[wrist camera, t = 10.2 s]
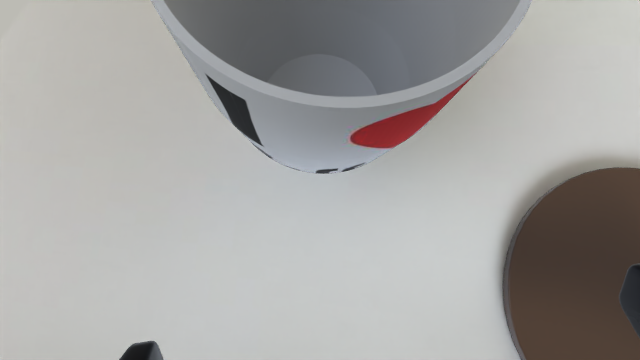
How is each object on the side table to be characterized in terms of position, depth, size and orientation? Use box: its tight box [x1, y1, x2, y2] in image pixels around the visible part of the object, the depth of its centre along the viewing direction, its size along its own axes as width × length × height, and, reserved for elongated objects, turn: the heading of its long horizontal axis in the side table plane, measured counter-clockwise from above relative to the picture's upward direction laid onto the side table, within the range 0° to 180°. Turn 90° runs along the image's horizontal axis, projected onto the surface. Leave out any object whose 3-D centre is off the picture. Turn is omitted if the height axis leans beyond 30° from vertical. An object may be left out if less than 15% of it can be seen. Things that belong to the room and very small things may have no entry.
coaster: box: [503, 168, 640, 360], centre depth 18 cm, size 10×10×1 cm
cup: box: [151, 0, 532, 173], centre depth 14 cm, size 8×8×10 cm
